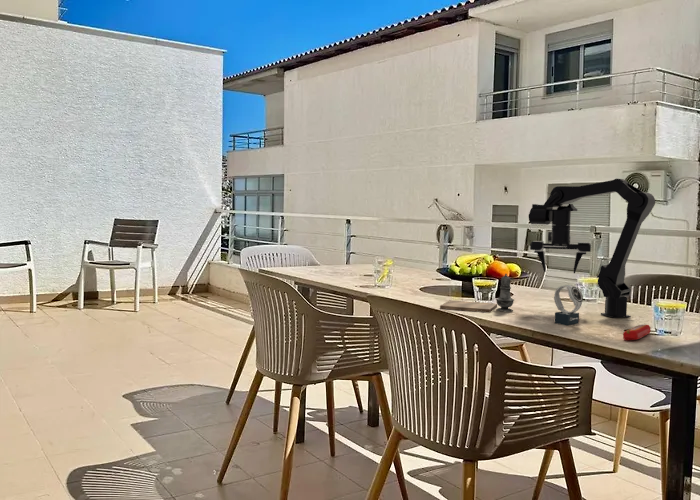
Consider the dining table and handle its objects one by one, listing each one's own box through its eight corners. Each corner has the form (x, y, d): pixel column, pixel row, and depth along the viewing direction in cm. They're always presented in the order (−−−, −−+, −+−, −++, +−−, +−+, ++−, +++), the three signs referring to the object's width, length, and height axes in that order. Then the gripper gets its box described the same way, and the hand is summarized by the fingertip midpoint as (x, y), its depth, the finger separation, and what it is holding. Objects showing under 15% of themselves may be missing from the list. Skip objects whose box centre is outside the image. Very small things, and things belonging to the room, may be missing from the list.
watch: (574, 326, 186) (576, 287, 185) (549, 322, 192) (550, 284, 191) (585, 324, 189) (586, 286, 189) (560, 320, 196) (561, 283, 195)
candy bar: (637, 333, 179) (638, 322, 179) (652, 334, 177) (652, 323, 177) (620, 341, 167) (621, 329, 166) (635, 343, 164) (636, 331, 164)
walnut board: (497, 306, 221) (497, 303, 221) (490, 312, 208) (490, 309, 208) (449, 303, 227) (449, 300, 227) (440, 308, 214) (440, 305, 214)
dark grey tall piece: (514, 312, 210) (515, 274, 209) (495, 311, 211) (496, 273, 210) (513, 309, 216) (515, 272, 215) (495, 308, 217) (496, 272, 216)
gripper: (591, 225, 221) (589, 272, 222) (533, 224, 227) (532, 269, 228) (591, 225, 211) (589, 274, 211) (530, 224, 217) (529, 272, 218)
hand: (559, 272), depth 218 cm, fingers open, 9 cm apart
